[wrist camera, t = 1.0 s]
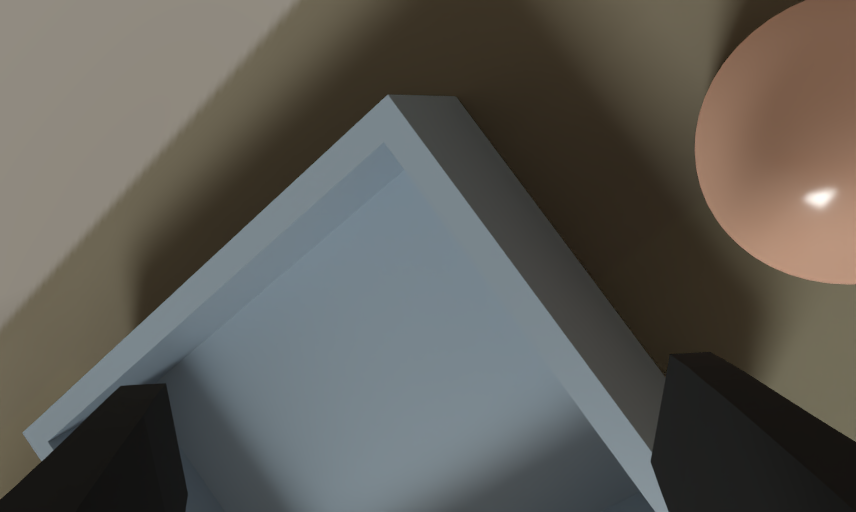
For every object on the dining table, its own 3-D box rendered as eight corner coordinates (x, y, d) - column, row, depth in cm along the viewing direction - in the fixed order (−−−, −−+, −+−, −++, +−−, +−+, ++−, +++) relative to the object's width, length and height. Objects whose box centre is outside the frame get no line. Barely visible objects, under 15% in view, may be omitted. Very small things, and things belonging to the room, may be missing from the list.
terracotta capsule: (904, 2, 17) (1015, -56, 11) (930, 205, 18) (1050, 261, 12) (686, 55, 19) (673, 32, 13) (717, 237, 20) (718, 301, 14)
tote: (455, 96, 22) (387, 94, 17) (732, 466, 21) (737, 568, 16) (131, 380, 29) (21, 433, 24) (327, 666, 28) (253, 775, 24)
